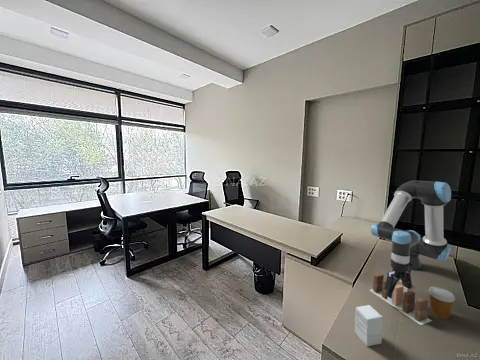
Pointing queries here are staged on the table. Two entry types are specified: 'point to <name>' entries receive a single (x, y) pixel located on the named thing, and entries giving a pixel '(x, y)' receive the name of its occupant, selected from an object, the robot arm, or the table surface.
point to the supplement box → (368, 325)
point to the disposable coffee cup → (441, 302)
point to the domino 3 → (398, 295)
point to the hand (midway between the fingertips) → (397, 300)
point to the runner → (400, 308)
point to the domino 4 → (408, 301)
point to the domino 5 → (421, 309)
